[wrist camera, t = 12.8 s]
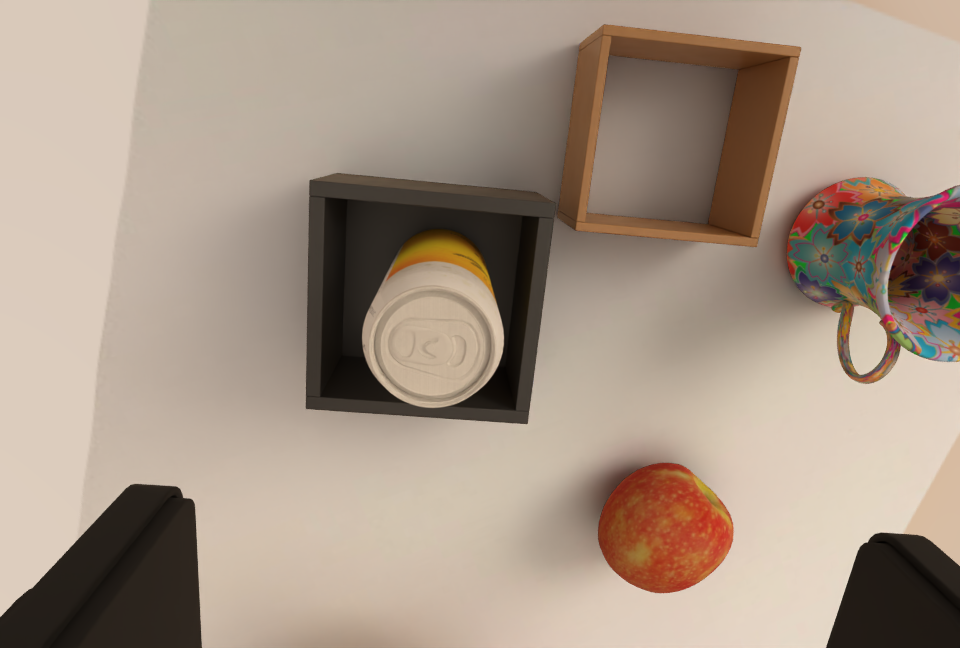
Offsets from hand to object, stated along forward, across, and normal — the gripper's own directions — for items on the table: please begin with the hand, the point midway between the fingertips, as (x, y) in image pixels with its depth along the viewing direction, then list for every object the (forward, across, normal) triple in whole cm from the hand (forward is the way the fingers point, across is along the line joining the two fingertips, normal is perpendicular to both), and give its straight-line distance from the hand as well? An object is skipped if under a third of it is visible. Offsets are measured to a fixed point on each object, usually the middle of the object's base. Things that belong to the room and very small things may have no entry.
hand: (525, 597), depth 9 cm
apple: (+32, -14, +18) cm, 40 cm away
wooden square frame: (+32, -10, -7) cm, 35 cm away
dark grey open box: (+32, +3, +3) cm, 32 cm away
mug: (+33, -24, 0) cm, 41 cm away
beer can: (+32, +2, +3) cm, 32 cm away
